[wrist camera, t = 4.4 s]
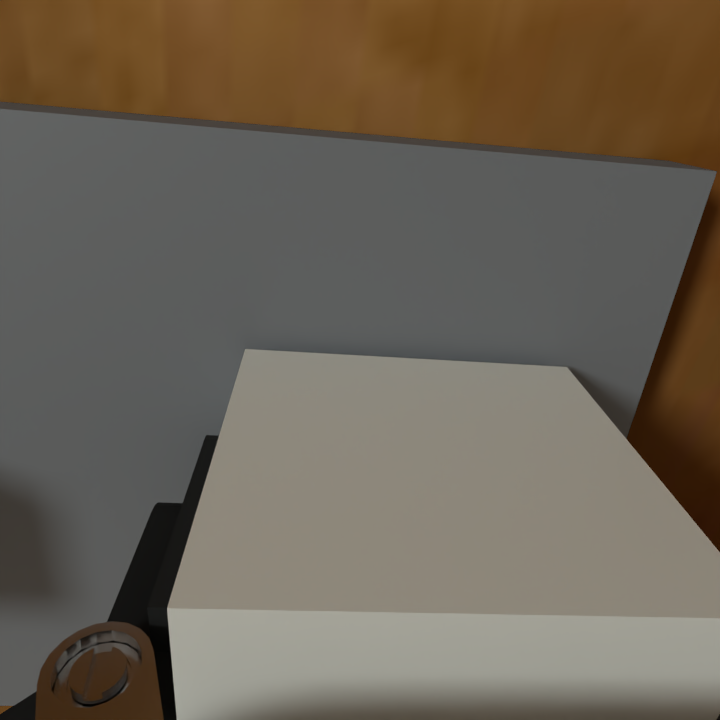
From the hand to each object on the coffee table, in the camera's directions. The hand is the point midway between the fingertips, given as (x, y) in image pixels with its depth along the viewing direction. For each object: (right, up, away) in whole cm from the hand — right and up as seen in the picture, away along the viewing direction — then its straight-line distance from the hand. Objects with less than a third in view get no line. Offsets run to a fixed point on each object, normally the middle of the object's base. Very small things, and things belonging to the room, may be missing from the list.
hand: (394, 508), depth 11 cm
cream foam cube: (0, 0, +1) cm, 1 cm away
